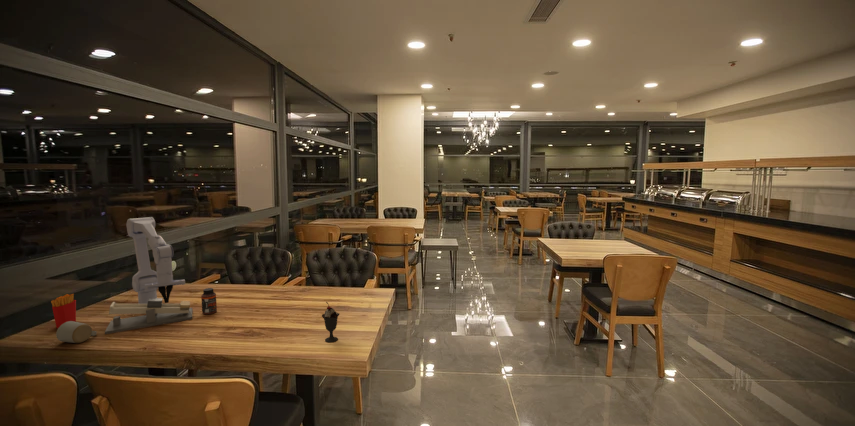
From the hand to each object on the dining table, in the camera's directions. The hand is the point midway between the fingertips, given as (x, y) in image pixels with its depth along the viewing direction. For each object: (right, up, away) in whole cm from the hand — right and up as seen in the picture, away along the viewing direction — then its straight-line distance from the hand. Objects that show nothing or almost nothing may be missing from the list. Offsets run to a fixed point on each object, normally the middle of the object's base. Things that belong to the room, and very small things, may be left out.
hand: (166, 302), depth 166 cm
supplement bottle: (+15, -7, +8) cm, 18 cm away
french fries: (-39, -8, -7) cm, 40 cm away
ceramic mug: (-19, -10, -21) cm, 30 cm away
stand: (-5, -8, -2) cm, 9 cm away
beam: (-5, -4, -3) cm, 7 cm away
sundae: (+79, -10, -21) cm, 83 cm away
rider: (-4, -2, -2) cm, 5 cm away
